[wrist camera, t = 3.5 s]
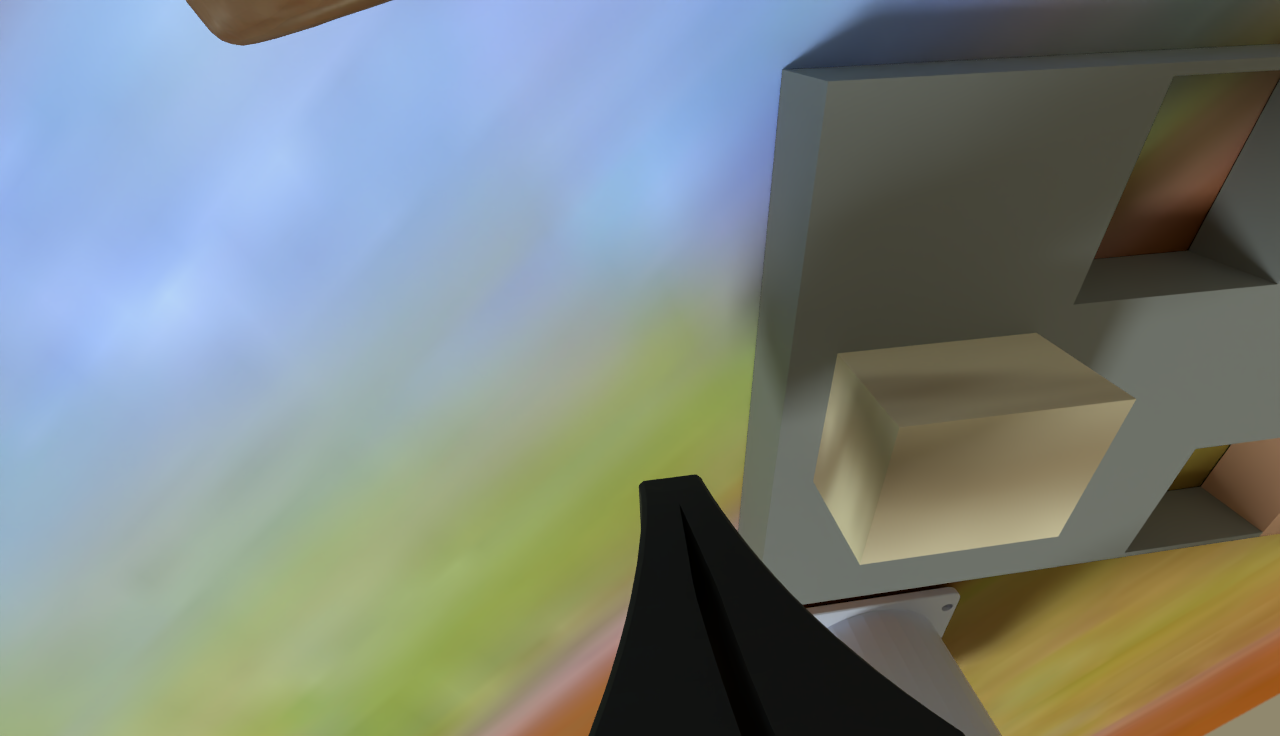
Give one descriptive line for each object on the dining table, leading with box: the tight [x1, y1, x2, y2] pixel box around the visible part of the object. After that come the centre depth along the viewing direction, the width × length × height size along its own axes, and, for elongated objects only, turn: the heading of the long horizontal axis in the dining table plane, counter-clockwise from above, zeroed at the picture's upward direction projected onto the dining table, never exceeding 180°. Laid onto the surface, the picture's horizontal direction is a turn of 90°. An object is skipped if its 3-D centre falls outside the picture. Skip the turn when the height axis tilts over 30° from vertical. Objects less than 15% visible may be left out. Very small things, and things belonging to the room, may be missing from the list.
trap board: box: [738, 44, 1280, 605], centre depth 17 cm, size 17×27×4 cm, turn 92°
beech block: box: [813, 333, 1136, 565], centre depth 14 cm, size 4×6×3 cm
